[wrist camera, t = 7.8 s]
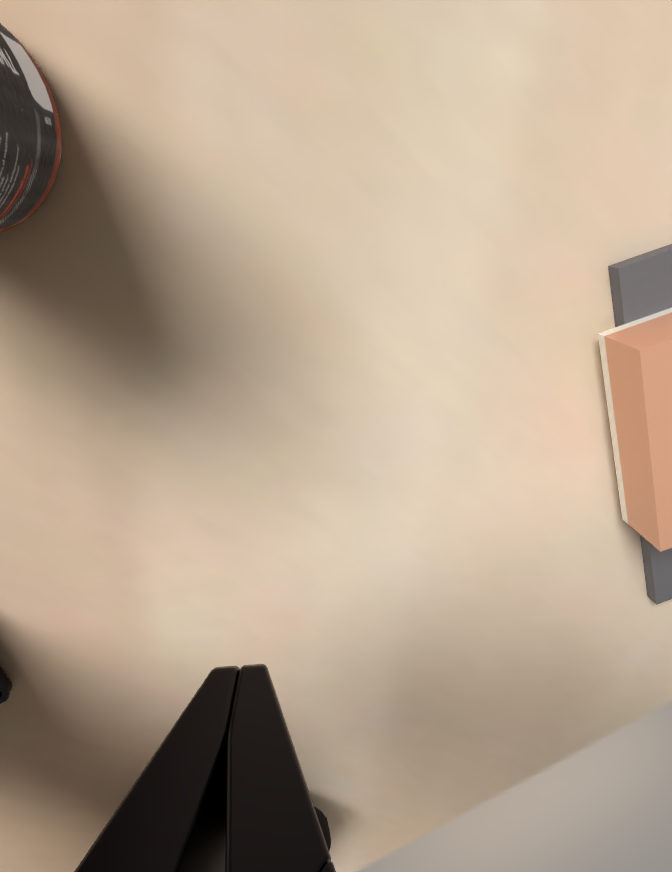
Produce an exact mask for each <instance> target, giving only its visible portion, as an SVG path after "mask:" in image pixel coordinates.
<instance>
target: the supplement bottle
mask: <svg viewBox="0 0 672 872" xmlns="http://www.w3.org/2000/svg"><path fill="white" fill-rule="evenodd" d="M61 144H62V136H61V126H60V120H59V115H58V112H57V109H56V105H55V101H54V98H53V95H52V93H51V90H50V88H49V86H48V84H47V82H46V80H45V78H44V75H43V74H42V72H41V70H40V68H39V67H38V66H37V64H36V63H35V61H34V59H33V58H32V56H31V55H30V54H29V53H28V52H27V50H26V49H25V48H24V46H23V45H22V44H21V43H20V42H19V41H18V39H16V38H15V37H14V36H13V35H12V34H11V33H10V32H9V31H8V30H7V29H6V28H5V27H3V26H2V25H1V24H0V232H2V231H5V230H7V229H9V228H11V227H13V226H15V225H17V224H19V223H21V222H23V221H24V220H26V219H27V218H28V217H29V216H31V215H32V214H33V213H34V212H35V211H36V210H37V208H38V207H39V206H40V205H41V204H42V202H43V201H44V199H45V198H46V197H47V195H48V193H49V192H50V190H51V188H52V185H53V183H54V181H55V179H56V175H57V171H58V168H59V164H60V159H61Z"/></svg>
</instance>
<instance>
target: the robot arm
mask: <svg viewBox="0 0 672 872" xmlns="http://www.w3.org/2000/svg"><path fill="white" fill-rule="evenodd" d="M12 686H13V685H12V683H11V681H10V680H9V678H8V677H7V675H6V674H5V673H4V671H3V670H2V669H1V667H0V704H1V703H3V702H5V701H6V700H7V699H8V697H9V695H10V693H11V691H12ZM75 872H336V871H335V868H334V865H333V863H332V862H331V857H330V854H329V851H328V848H327V845H326V842H325V839H324V836H323V833H322V830H321V827H320V824H319V821H318V818H317V815H316V812H315V809H314V806H313V803H312V800H311V797H310V794H309V791H308V788H307V785H306V782H305V779H304V776H303V773H302V770H301V767H300V764H299V761H298V758H297V755H296V752H295V749H294V746H293V743H292V740H291V737H290V734H289V731H288V728H287V725H286V722H285V719H284V716H283V713H282V710H281V707H280V704H279V701H278V698H277V695H276V692H275V689H274V686H273V683H272V680H271V677H270V674H269V671H268V669H267V666H266V665H264V664H256V665H244V666H242V667H241V669H240V668H239V667H237V666H227V667H216V668H214V669H213V670H212V671H211V672H210V673H209V675H208V676H207V678H206V679H205V681H204V682H203V684H202V685H201V687H200V688H199V690H198V691H197V692H196V694H195V695H194V697H193V698H192V700H191V701H190V703H189V704H188V706H187V707H186V709H185V710H184V712H183V713H182V715H181V716H180V717H179V719H178V720H177V722H176V723H175V725H174V726H173V728H172V729H171V731H170V732H169V734H168V735H167V737H166V738H165V740H164V741H163V742H162V744H161V745H160V747H159V748H158V750H157V751H156V753H155V754H154V756H153V757H152V759H151V760H150V762H149V763H148V764H147V766H146V767H145V769H144V770H143V772H142V773H141V775H140V776H139V778H138V779H137V781H136V782H135V784H134V785H133V787H132V788H131V789H130V791H129V792H128V794H127V795H126V797H125V798H124V800H123V801H122V803H121V804H120V806H119V807H118V809H117V810H116V812H115V813H114V814H113V816H112V817H111V819H110V820H109V822H108V823H107V825H106V826H105V828H104V829H103V831H102V832H101V834H100V835H99V836H98V838H97V839H96V841H95V842H94V844H93V845H92V847H91V848H90V850H89V851H88V853H87V854H86V856H85V857H84V859H83V860H82V861H81V863H80V864H79V866H78V867H77V869H76V870H75Z"/></svg>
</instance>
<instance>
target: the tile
mask: <svg viewBox="0 0 672 872" xmlns="http://www.w3.org/2000/svg"><path fill="white" fill-rule="evenodd" d="M598 339H599V346H600V354H601V362H602V369H603V377H604V384H605V392H606V399H607V407H608V415H609V422H610V430H611V437H612V445H613V452H614V460H615V468H616V475H617V483H618V490H619V498H620V505H621V513H622V519H623V520H624V521H625V522H626V523H627V524H629V525H630V526H631V527H632V528H633V529H634V530H636V531H637V532H638V533H639V534H640V535H641V536H643V537H644V538H645V539H646V540H647V541H649V542H650V543H651V544H652V545H653V546H654V547H656V548H657V549H658V550H659V551H660V552H661V551H664V550H667V549H670V548H672V308H669V309H666V310H663V311H661V312H658V313H655V314H652V315H649V316H646V317H643V318H641V319H638V320H635V321H632V322H629V323H626V324H624V325H621V326H618V327H615V328H612V329H609V330H607V331H604V332H601V333H598Z"/></svg>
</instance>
